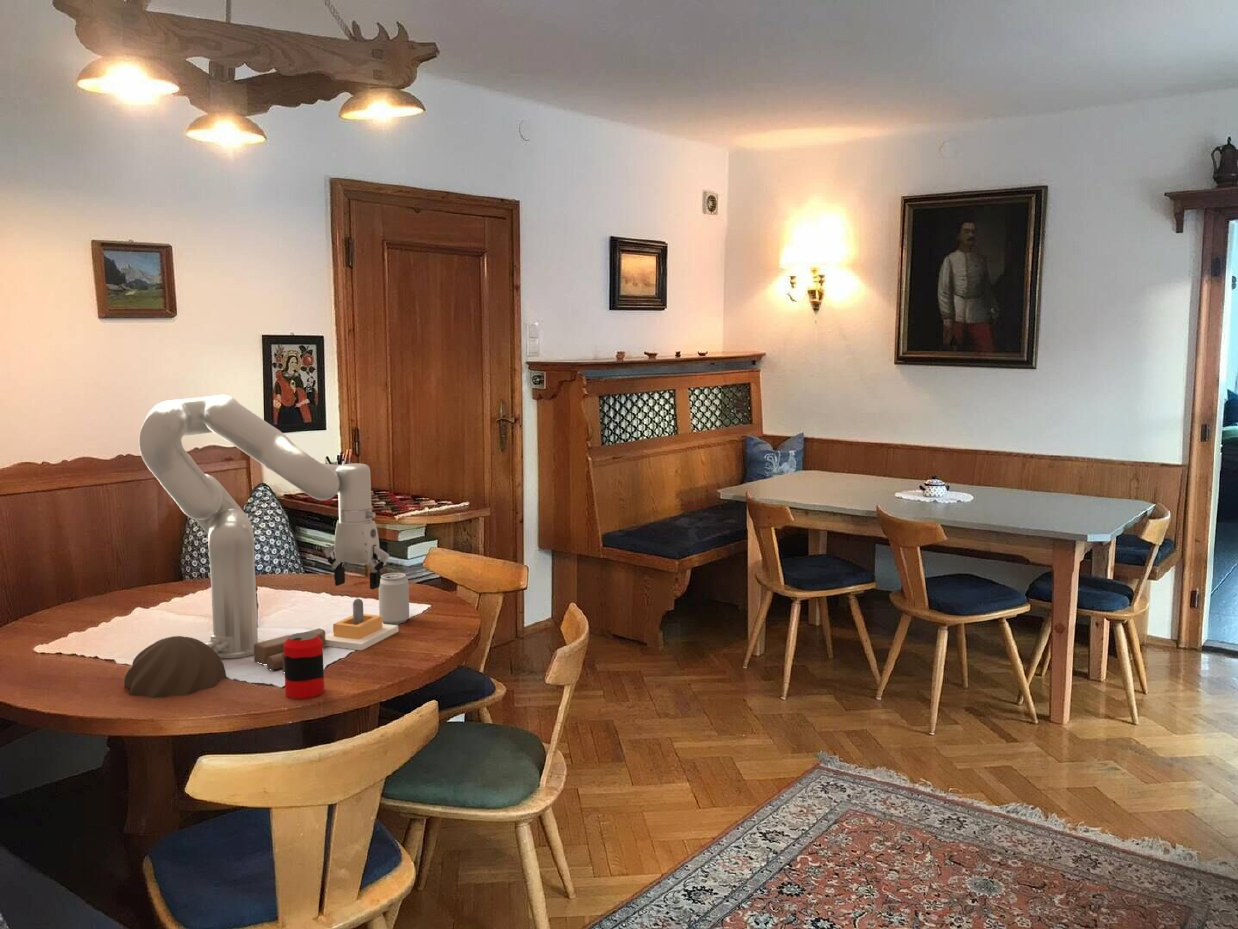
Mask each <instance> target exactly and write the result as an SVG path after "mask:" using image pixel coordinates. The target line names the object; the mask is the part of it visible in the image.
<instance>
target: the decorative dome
mask: <svg viewBox="0 0 1238 929" xmlns="http://www.w3.org/2000/svg"><path fill="white" fill-rule="evenodd" d="M222 660H223V659H222V658H220V657H219V655H218V654H217V653H216V652H215V651H214V650H213V649H212V648H211V647H209V646H208V645H206V643H204V641H201V640H199V639H197V638H194V637H190V636H189V637H188V636H182V635H175V636H170V637H164V638H161V639H159V640H157V641H155V642H154V643H152V644H150V645H148V646H147V647H146V648H144V649H142V651H140V652H139V653H138V654H137V655H136V656H135V657H134V659H133V660H132V662H131V663H132V664H131V665H132V666H131V667H130V668H129V669H128V670H127V672H126V674H125V676H124V682H123V683H124V687H126V688H127V687H128V689H129V688H130V690H129V695H134V696H135V695H138V696H146V697H149V698H151V699H156V698H157V699H158V698H163V697H168V696H188V695H190V694H191V695H192V694H194V693H195V692H197V691H198V692H199V691H202V690H207V689H211V688H215V687H216V685H217V683H218V682H220V681H222V680H224V679H225V678H227V675H226V674H227V673H226V669H225V668H226V667H225V665H224V662H223V661H222Z"/></svg>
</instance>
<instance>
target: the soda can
mask: <svg viewBox="0 0 1238 929" xmlns="http://www.w3.org/2000/svg"><path fill="white" fill-rule="evenodd" d="M289 635H290V634H289ZM323 649H324V648H323V641H322V640H321V639H320V638H319V636H318V635H317V634H316V633H311V632H307V631H304V632H296V633H292V634H291V635H290V636H289V637H288V639H287V640H286V642H285V643H284V668H285V673H284V688H285V690H284V691H285V692H284V693H285V695H286V696H287V697H288V698H290V699H293V700H307V699H313V698H316V697H319V696H321V695H322V694H323V693H324V692H325V676H324V674H325V672H324V650H323Z"/></svg>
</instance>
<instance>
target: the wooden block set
mask: <svg viewBox="0 0 1238 929" xmlns="http://www.w3.org/2000/svg"><path fill="white" fill-rule="evenodd" d="M306 632H311V633H316V634H317V635H318V636H319V638H320V639H321V640H322V641H323V649H324V648H325V647H326V646H325V645H326V641H325V635H326V630H325V629H322V628H316V629H312V630H308V631H306ZM289 636H290V634H288V635H284V636H280V637H275V638H271V639H268V640H263V642H259V643H256V644H254V655H253V657H254V659H253V660H254V663H256V662H259V663H262V664H267V669H268V670H269V669H271V670H274V671H276V670H275V669H277V670H281V669H282V673H283V672H285V668H284V643H285V642H286V640H287V639H288V637H289ZM280 668H281V669H280Z"/></svg>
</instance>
